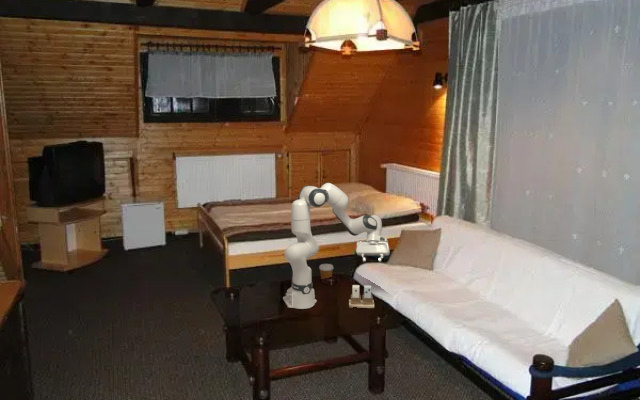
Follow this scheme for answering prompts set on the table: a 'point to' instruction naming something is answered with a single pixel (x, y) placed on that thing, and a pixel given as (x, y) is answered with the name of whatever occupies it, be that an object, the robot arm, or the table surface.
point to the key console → (361, 302)
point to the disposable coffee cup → (326, 270)
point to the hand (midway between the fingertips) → (371, 261)
